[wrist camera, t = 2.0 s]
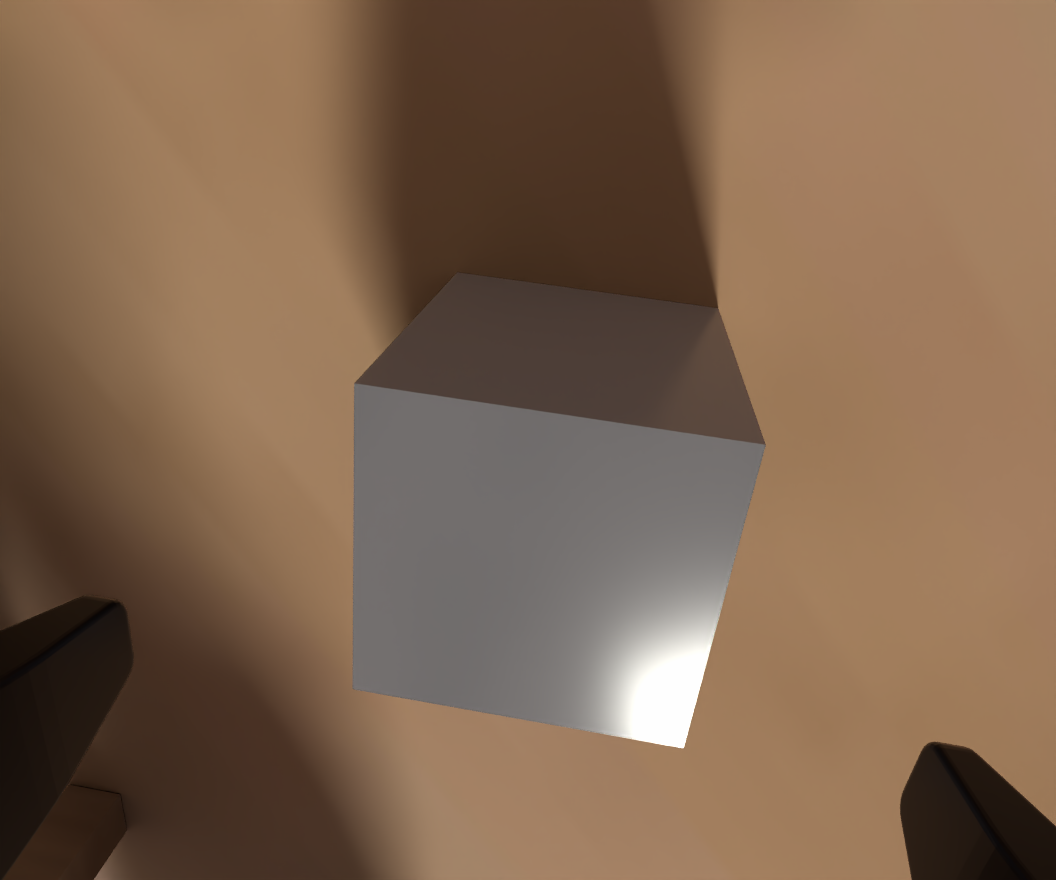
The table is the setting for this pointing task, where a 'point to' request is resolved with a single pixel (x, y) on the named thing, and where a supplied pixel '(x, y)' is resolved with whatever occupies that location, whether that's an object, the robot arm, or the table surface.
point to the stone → (549, 505)
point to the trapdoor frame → (73, 837)
